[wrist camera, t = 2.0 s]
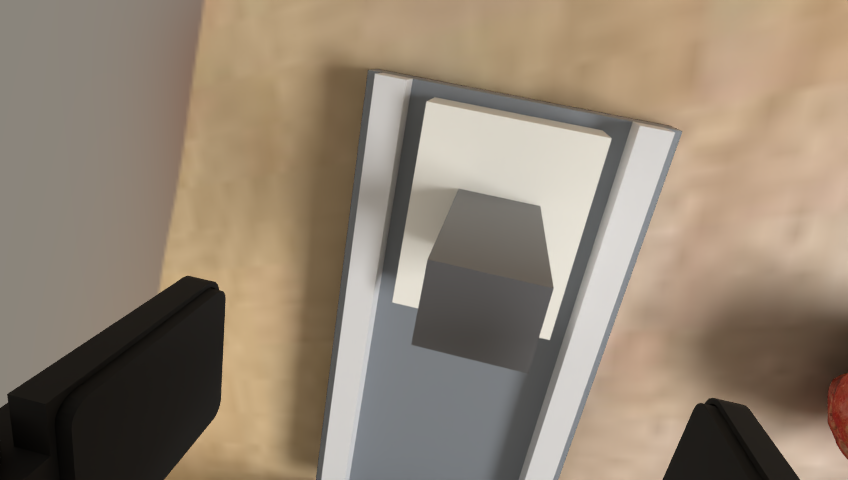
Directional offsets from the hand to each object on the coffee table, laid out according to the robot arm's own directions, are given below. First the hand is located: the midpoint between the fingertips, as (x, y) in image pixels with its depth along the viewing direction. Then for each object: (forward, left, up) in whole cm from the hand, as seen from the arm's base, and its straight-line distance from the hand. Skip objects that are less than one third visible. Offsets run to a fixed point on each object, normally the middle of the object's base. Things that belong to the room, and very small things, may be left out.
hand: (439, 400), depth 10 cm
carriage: (0, +1, -12) cm, 12 cm away
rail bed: (+6, +1, -14) cm, 15 cm away
